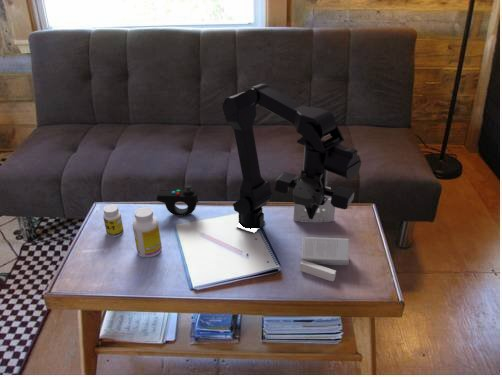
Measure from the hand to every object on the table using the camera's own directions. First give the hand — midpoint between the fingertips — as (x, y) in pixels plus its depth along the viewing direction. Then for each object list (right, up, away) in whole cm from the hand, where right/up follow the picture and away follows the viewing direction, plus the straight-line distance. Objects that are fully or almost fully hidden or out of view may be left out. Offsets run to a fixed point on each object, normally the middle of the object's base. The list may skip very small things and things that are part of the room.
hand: (311, 218), depth 117 cm
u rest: (+4, -12, +5) cm, 14 cm away
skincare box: (-2, -8, +5) cm, 10 cm away
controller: (-37, 0, +24) cm, 44 cm away
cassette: (+3, -2, +21) cm, 22 cm away
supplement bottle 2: (-43, -10, +10) cm, 45 cm away
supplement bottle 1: (-54, -5, +17) cm, 57 cm away
